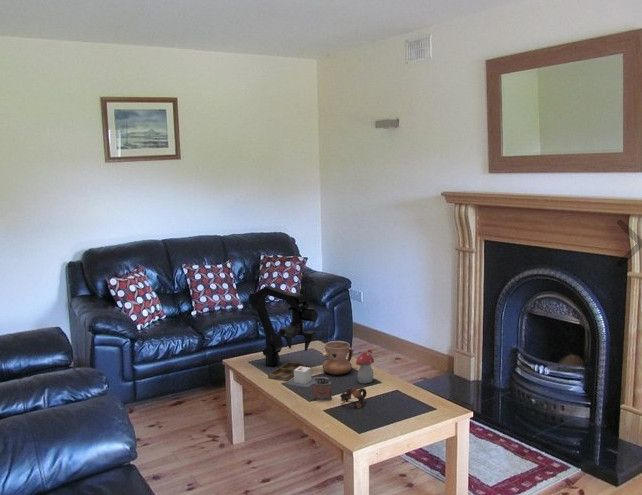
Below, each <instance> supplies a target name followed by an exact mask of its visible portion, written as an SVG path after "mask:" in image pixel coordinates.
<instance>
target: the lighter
mask: <svg viewBox="0 0 642 495" xmlns="http://www.w3.org/2000/svg"><path fill="white" fill-rule="evenodd" d="M314 378H315V381H316V382H313V384H312V385H313V400H314V401H321V402H323V401H324V402H325V401H331V400H333V398H332V397H333V396H332V382H331V381H330V380H329V377H325V376H321V377H320V376H315V377H314Z"/></svg>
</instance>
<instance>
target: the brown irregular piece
mask: <svg viewBox="0 0 642 495" xmlns="http://www.w3.org/2000/svg"><path fill="white" fill-rule="evenodd" d="M367 394H368V393H367V390H366V388H364V387H363V388H359V389H356V388H355V387H351V388H349V389H348V390H346V391H345V392H343V393H341V394H340V401H341V402H343V403H345V402H348V401H349V400H352V396H353V397H354V398H355V399H357V400H358V402H356V403H355V406H356V408H357V409H361V408H362V407H364V406H365V402H364V400H365V398H366V397H367Z"/></svg>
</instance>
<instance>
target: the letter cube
mask: <svg viewBox="0 0 642 495" xmlns="http://www.w3.org/2000/svg"><path fill="white" fill-rule="evenodd" d="M311 377H312V368H311V367H308V366H307V367H302V366H299V367H298V368H296V369H295V370H294V377H293V378H294V382H295V383H301V384H306V383H308V382H309V381H310V380H311Z"/></svg>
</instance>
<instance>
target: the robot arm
mask: <svg viewBox="0 0 642 495" xmlns="http://www.w3.org/2000/svg"><path fill="white" fill-rule="evenodd" d="M268 296H269V297H271V298H272V297H273V298H276V299H278V300H282V301H284V302H286V304H287V305H289V307H288V308H287V310H288V311H290V312H291V321H290V324H289V326H284V327H282V328H280V329H279V331H278V334H279V335H278V334H277V333H276V331H275V329H274V326H273V323H272V321H271V318H270V315H269V313H268V310H267V308H266V304H267V300H266V298H267V297H268ZM248 301H249V303H250V306H251V308H253V309H254V310H255V311H256V313H257V315H258V318H259V321H260V323H261V327H262V330H263V331H264V336H265V348H264V349H263V350H262V354H263V356H264V358H265V364H263V366H264V367H270V368H276V367H278V366H279V365H281V364H282V363H281V362H280V361H281V358H280V353H281V350H282V349H283V346H284V341H283V339H284V340H285V342H286V344H287V346H288V348H289V349H292V342H293V339H294V338H295V339H296V336H302V337H303V341H304V351H305V352H307V351H308V348H309V346H310V344H311V342H312V340H314V339H315V338H317V332H316V331H315V330H307V331H306V330H305V328H304V323H305V322H309V323H316V322H317V320H318V318H319V313H318V311H317V310H316V308H315V307H310V305H309V304H308V302H307V300H306V298H305V296H304V294H302V293H299V292H289V291H285V290H282V289H280V288H276V287H273V286H271V285H266V286H263V287H262V288H261V289H260V290H257V291H255V292H252V293H250V294H249V296H248ZM282 337H283V339H282Z"/></svg>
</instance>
